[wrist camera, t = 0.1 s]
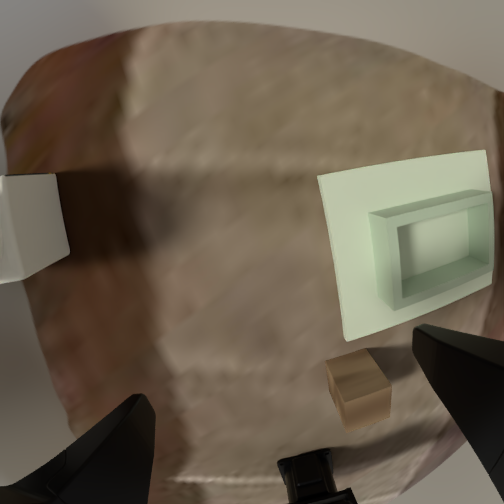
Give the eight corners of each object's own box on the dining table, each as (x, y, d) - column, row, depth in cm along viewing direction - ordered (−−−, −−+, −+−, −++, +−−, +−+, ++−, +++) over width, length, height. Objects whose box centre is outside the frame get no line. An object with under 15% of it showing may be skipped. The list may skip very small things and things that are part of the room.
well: (486, 281, 24) (509, 293, 21) (344, 337, 25) (358, 360, 21) (480, 149, 21) (506, 149, 17) (317, 175, 21) (332, 175, 18)
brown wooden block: (366, 378, 26) (389, 417, 20) (329, 391, 26) (346, 432, 20) (365, 347, 25) (391, 385, 19) (325, 360, 25) (344, 402, 19)
